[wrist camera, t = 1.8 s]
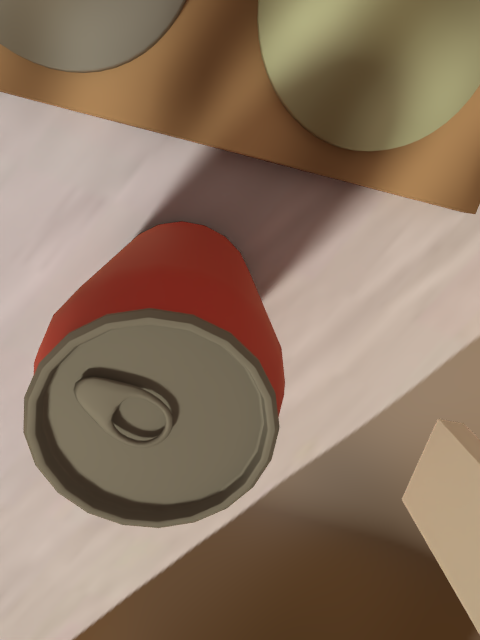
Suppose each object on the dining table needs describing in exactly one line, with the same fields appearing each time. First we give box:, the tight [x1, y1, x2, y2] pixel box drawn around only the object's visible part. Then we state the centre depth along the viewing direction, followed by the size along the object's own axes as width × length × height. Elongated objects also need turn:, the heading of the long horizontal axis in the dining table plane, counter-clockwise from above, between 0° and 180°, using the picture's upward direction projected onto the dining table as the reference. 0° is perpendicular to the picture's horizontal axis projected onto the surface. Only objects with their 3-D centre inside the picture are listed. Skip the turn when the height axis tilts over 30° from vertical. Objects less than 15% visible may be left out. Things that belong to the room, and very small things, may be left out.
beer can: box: [24, 221, 285, 528], centre depth 15 cm, size 7×7×12 cm
